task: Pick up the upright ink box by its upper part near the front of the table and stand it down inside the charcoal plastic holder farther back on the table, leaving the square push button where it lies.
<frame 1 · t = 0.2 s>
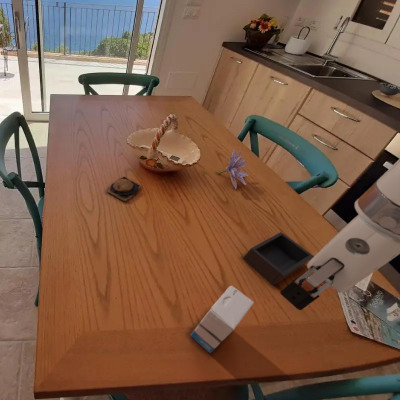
hand: (308, 287, 42), 22 cm above the table, tool pointing down, fingers open, 9 cm apart
holder: (272, 262, 72), on the table
square push button: (123, 190, 92), on the table
ink box: (209, 331, 58), on the table
water lily: (231, 180, 99), on the table
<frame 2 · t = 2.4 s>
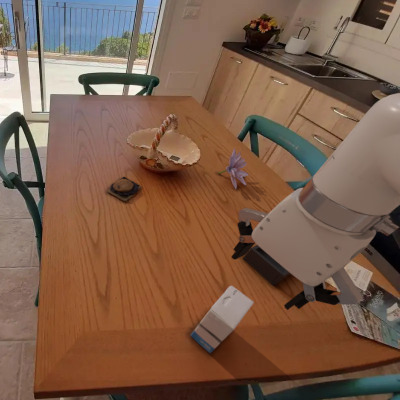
hand: (262, 278, 44), 21 cm above the table, tool pointing down, fingers open, 9 cm apart
nothing on the table moved.
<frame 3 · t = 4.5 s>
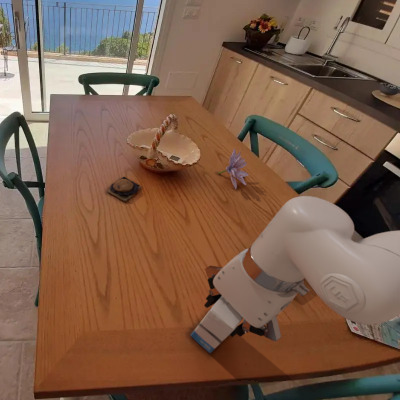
hand: (222, 317, 53), 7 cm above the table, tool pointing down, fingers closed on ink box, 5 cm apart
ink box: (209, 331, 58), on the table, touching gripper
everything else where it was.
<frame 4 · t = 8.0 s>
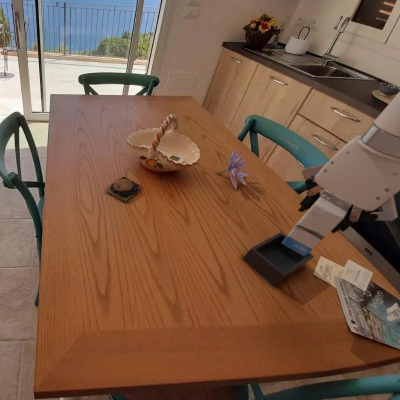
hand: (319, 219, 54), 22 cm above the table, tool pointing down, fingers closed on ink box, 5 cm apart
ink box: (297, 241, 59), point 15 cm above the table, touching gripper
everything else where it was.
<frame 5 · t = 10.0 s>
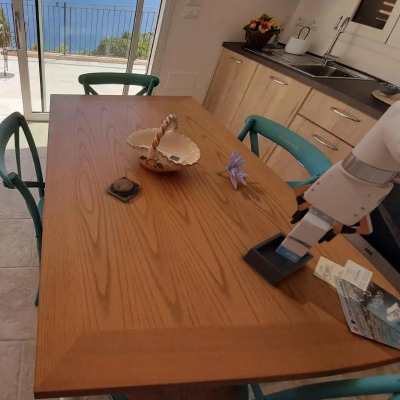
hand: (308, 230, 62), 14 cm above the table, tool pointing down, fingers closed on ink box, 5 cm apart
ink box: (290, 249, 67), point 7 cm above the table, touching gripper
everything else where it was.
when the fingers open (11 cm above the table, at t = 11.5 s): ink box drops 4 cm, resting on holder.
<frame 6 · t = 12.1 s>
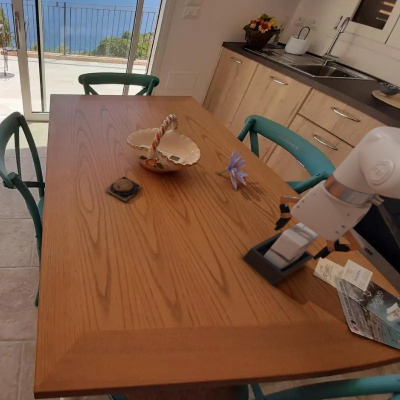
hand: (296, 242, 65), 10 cm above the table, tool pointing down, fingers open, 9 cm apart
ink box: (275, 262, 72), resting on holder
everything else where it was.
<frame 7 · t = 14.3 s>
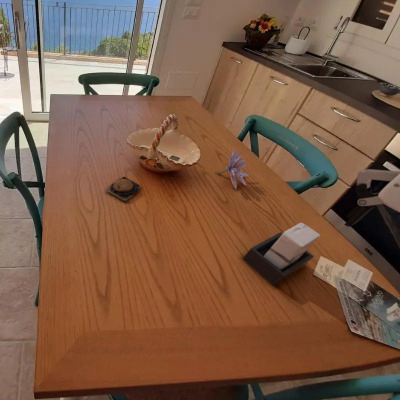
hand: (385, 244, 41), 29 cm above the table, tool pointing down, fingers open, 9 cm apart
nothing on the table moved.
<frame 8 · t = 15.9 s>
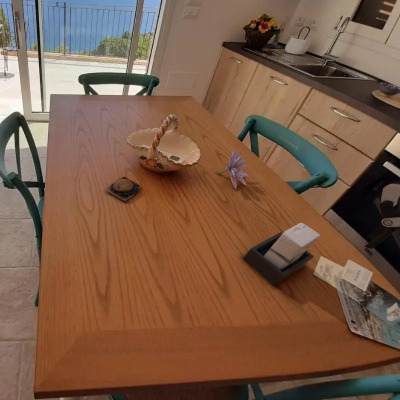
nothing on the table moved.
at the end: ink box 0.5 cm off-centre in the holder, point 0.4 cm above the holder's base; ink box tilted 0°; square push button moved 0.2 cm from its start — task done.
